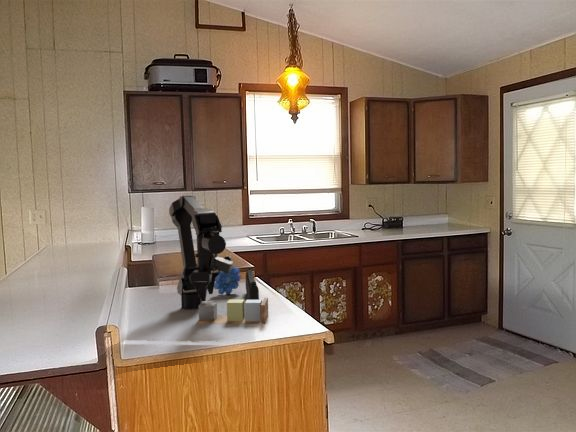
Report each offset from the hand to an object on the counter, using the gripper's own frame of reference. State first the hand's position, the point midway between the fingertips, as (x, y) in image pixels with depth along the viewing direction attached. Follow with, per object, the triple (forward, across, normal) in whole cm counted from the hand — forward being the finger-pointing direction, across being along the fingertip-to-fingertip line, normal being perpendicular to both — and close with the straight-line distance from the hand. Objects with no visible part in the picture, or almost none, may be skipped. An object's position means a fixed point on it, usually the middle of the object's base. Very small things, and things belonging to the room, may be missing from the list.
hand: (207, 297), depth 152 cm
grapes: (+9, +38, +2) cm, 39 cm away
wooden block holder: (+8, 0, -8) cm, 12 cm away
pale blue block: (+7, 0, -15) cm, 17 cm away
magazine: (+9, +26, -10) cm, 29 cm away
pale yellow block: (+7, 0, -9) cm, 12 cm away
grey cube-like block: (+7, 0, 0) cm, 7 cm away
